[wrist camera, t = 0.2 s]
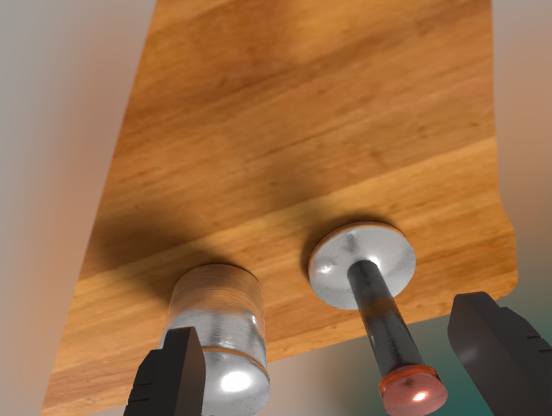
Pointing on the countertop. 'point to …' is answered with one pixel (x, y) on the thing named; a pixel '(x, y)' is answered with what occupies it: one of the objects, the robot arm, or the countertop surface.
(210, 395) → the pot
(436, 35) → the countertop surface
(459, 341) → the robot arm
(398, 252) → the lid
